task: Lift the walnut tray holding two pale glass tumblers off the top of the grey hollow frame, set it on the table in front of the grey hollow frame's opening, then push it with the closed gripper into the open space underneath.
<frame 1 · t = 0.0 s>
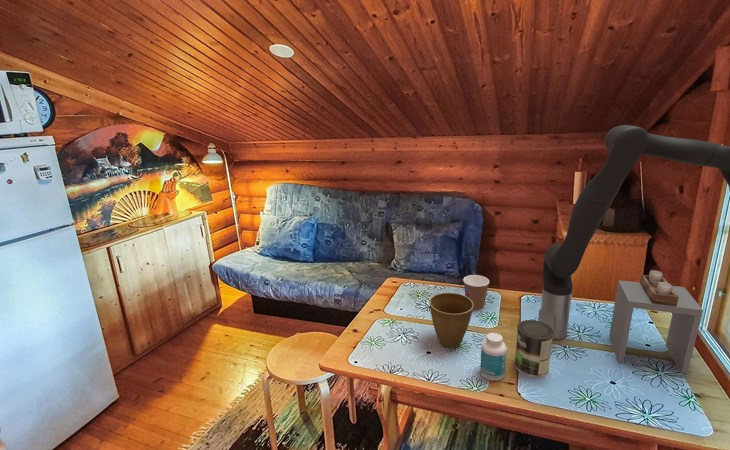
grey hollow frame: (645, 354, 126), on the table
tray: (657, 293, 120), point 22 cm above the table, touching grey hollow frame
coffee can: (531, 367, 123), on the table
coffee cup: (475, 306, 161), on the table
plant pot: (450, 342, 138), on the table
pill bottle: (492, 374, 121), on the table
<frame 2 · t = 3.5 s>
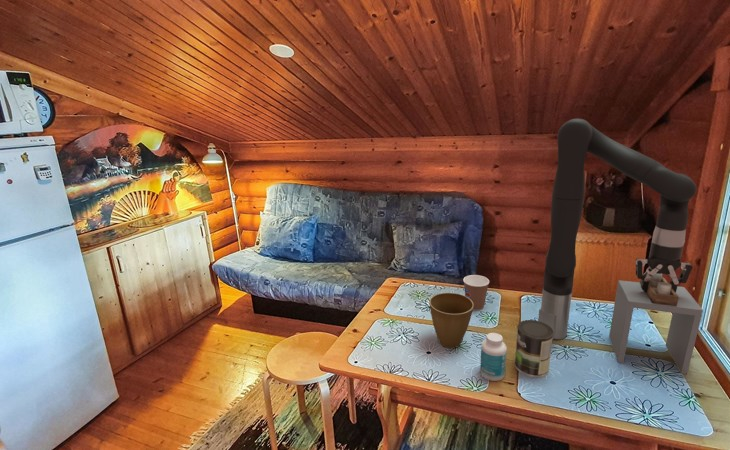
hand: (657, 292, 120), 23 cm above the table, tool pointing down, fingers closed on tray, 6 cm apart
tray: (657, 293, 120), point 22 cm above the table, touching grey hollow frame, gripper
everything else where it was.
when the fingers open (2 cm above the table, at t = 11.1 s): tray drops 1 cm, on the table.
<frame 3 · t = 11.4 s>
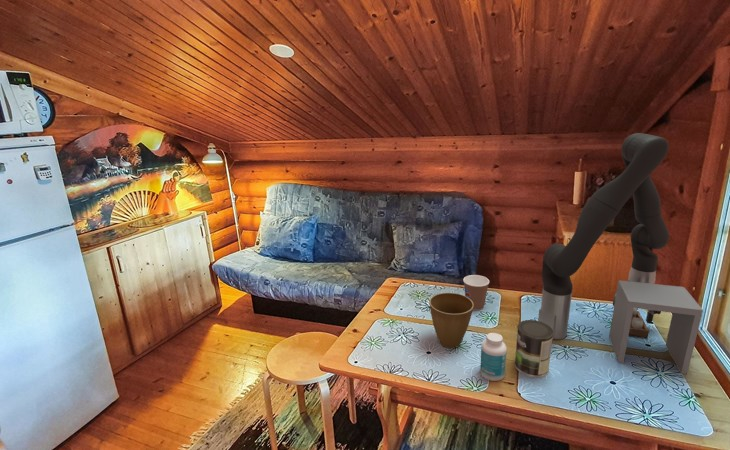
hand: (633, 320, 141), 3 cm above the table, tool pointing down, fingers open, 8 cm apart
tray: (632, 326, 141), on the table
everything else where it was.
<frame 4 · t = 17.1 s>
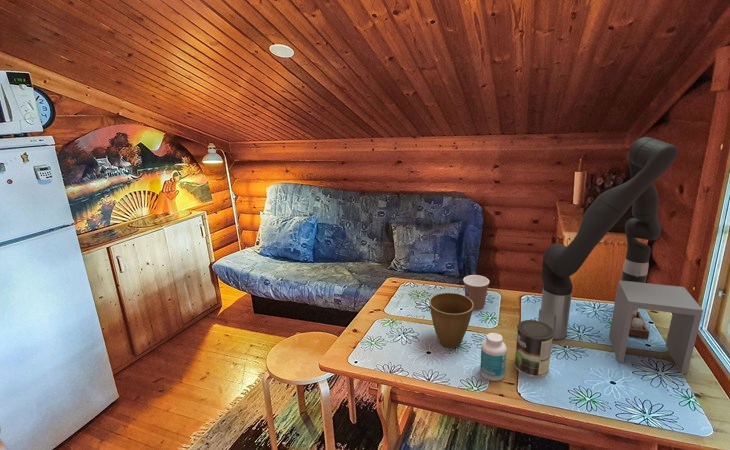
hand: (627, 311, 148), 1 cm above the table, tool pointing down, fingers closed
tray: (633, 327, 141), on the table, touching gripper
everything else where it was.
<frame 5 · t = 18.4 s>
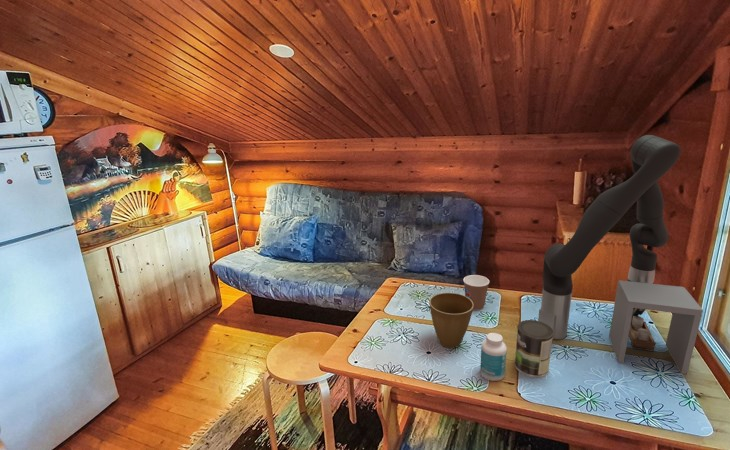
hand: (633, 321, 142), 2 cm above the table, tool pointing down, fingers closed
tray: (638, 337, 135), on the table, touching gripper
everything else where it was.
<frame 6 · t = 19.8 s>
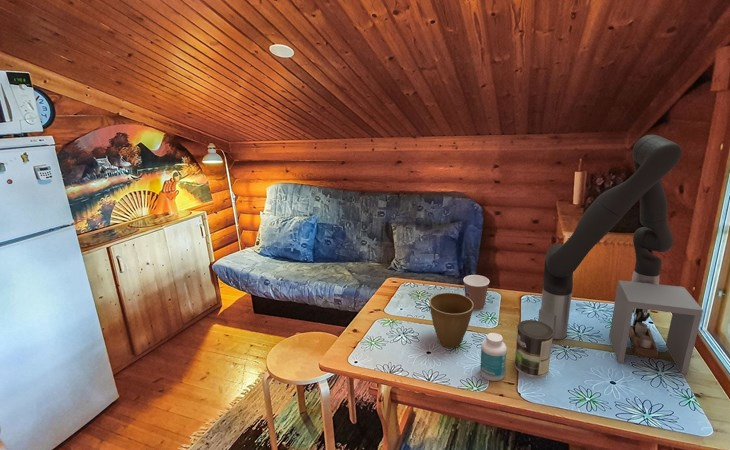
hand: (636, 327, 138), 2 cm above the table, tool pointing down, fingers closed
tray: (641, 345, 131), on the table, touching gripper
everything else where it was.
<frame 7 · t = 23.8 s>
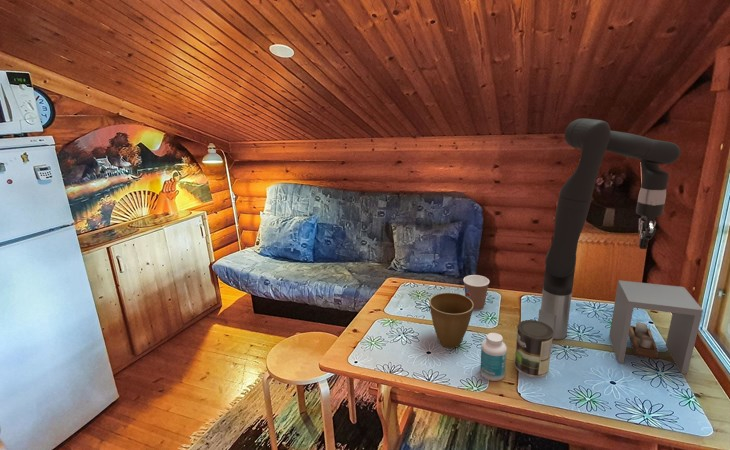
hand: (642, 248, 137), 29 cm above the table, tool pointing down, fingers closed
tray: (641, 345, 131), on the table
everything else where it was.
at the end: tray 5.1 cm from the grey hollow frame (horizontally); tray on the table; tray tilted 0° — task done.
